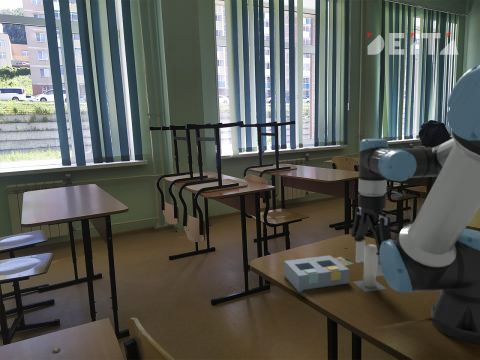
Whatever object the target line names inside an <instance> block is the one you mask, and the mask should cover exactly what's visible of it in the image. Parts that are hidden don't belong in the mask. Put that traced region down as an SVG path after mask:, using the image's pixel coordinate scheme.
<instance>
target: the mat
mask: <svg viewBox="0 0 480 360" xmlns="http://www.w3.org/2000/svg"><path fill="white" fill-rule="evenodd" d="M352 283H353V284H354V285H355V286H356V287H358V288H360V289H361V290H362V291H363V292H365V293H369V292H374V291H382V290H387V289H388V288H387V287H385V286H384V285H383V284H381V283H380V282H378V281H377V280H376V284H375V287H373V288H369V287H365V286H364V285H363V279H362V280H357V281H354V280H353V281H352Z"/></svg>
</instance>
